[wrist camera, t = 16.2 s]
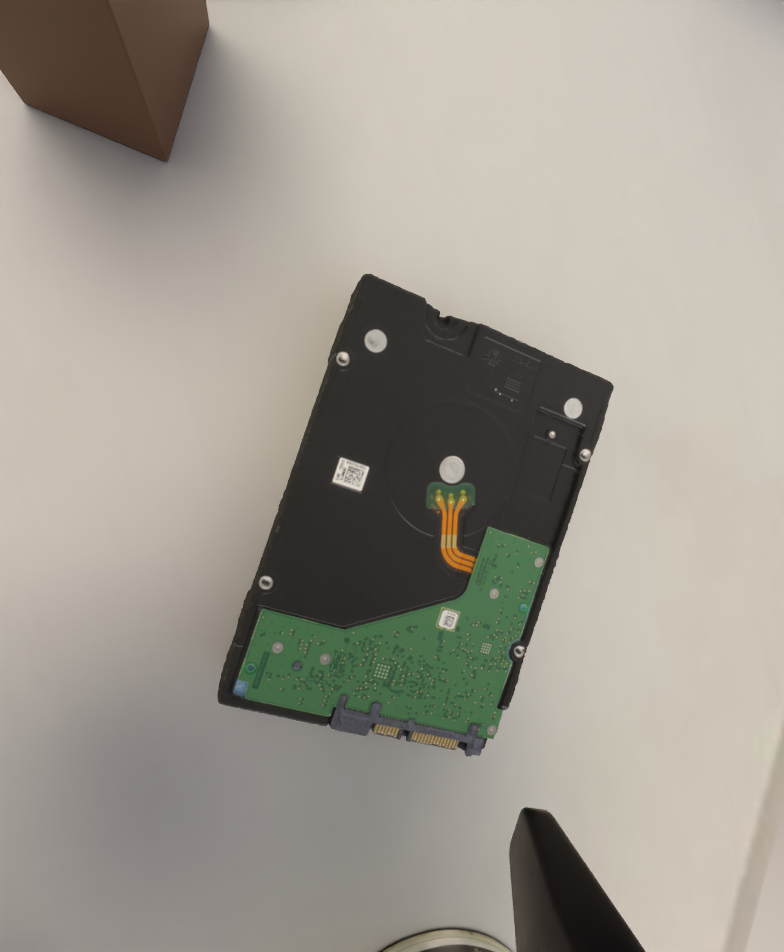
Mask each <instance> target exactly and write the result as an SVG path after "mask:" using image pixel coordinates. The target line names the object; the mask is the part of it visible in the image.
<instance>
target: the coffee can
mask: <svg viewBox="0 0 784 952" xmlns="http://www.w3.org/2000/svg"><path fill="white" fill-rule="evenodd" d="M383 952H511V951H510V950H509V949H508V948H506V947H505V946H504V945H503V944H501V943H500V942H498V941H496V940H495V939H493V938H491V937H489V936H486V935H484V934H481V933H477V932H473V931H465V930H455V929H444V930H437V931H431V932H427V933H423V934H419V935H416V936H413V937H410V938H408V939H405V940H403V941H400V942H398V943H396V944H394V945H393V946H390V947H388V948H387V949H385V950H384V951H383Z"/></svg>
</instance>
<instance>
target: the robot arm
mask: <svg viewBox="0 0 784 952" xmlns="http://www.w3.org/2000/svg"><path fill="white" fill-rule="evenodd" d="M509 859H510V872H511V885H512V897H513V910H514V922H515V935H516V947H517V952H645V950H644V949H643V947H642V946H641V944H640V943H639V941H638V940H637V938H636V937H635V935H634V934H633V933H632V931H631V930H630V928H629V927H628V925H627V924H626V922H625V921H624V919H623V918H622V916H621V915H620V914H619V912H618V911H617V909H616V908H615V906H614V905H613V903H612V902H611V900H610V899H609V897H608V896H607V894H606V893H605V892H604V890H603V889H602V887H601V886H600V884H599V883H598V881H597V880H596V878H595V877H594V875H593V874H592V872H591V871H590V870H589V868H588V867H587V865H586V864H585V862H584V861H583V859H582V858H581V856H580V855H579V853H578V852H577V850H576V849H575V848H574V846H573V845H572V843H571V842H570V840H569V839H568V837H567V836H566V834H565V833H564V831H563V830H562V828H561V827H560V826H559V824H558V823H557V821H556V820H555V818H554V817H553V816H552V814H551V813H549V812H548V811H546V810H542V809H535V808H528V807H526V808H523V809H522V810H521V812H520V815H519V818H518V821H517V824H516V827H515V830H514V833H513V836H512V839H511V843H510V851H509Z"/></svg>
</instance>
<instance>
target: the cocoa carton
mask: <svg viewBox="0 0 784 952" xmlns="http://www.w3.org/2000/svg"><path fill="white" fill-rule="evenodd" d="M208 26H209V19H208V12H207V6H206V0H0V70H1V71H2V73H3V74H4V75H5V77H6V78H7V80H8V81H9V82H10V84H11V85H12V87H13V88H14V89H15V91H16V92H17V93H18V95H19V96H20V98H21V99H22V100H23V102H24V103H26V104H28V105H30V106H33V107H35V108H38V109H40V110H42V111H45V112H47V113H50V114H52V115H54V116H57V117H59V118H62V119H64V120H66V121H69V122H71V123H74V124H76V125H78V126H81V127H83V128H86V129H88V130H90V131H93V132H95V133H98V134H100V135H102V136H105V137H107V138H110V139H112V140H115V141H117V142H119V143H122V144H124V145H127V146H129V147H131V148H134V149H136V150H139V151H141V152H143V153H146V154H148V155H151V156H153V157H155V158H158V159H160V160H163V161H165V162H167V160H168V157H169V154H170V150H171V147H172V144H173V141H174V137H175V134H176V131H177V127H178V124H179V121H180V118H181V114H182V111H183V108H184V104H185V101H186V98H187V95H188V91H189V88H190V85H191V82H192V78H193V75H194V72H195V68H196V65H197V62H198V59H199V55H200V52H201V49H202V45H203V42H204V39H205V36H206V32H207V29H208Z"/></svg>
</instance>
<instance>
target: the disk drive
mask: <svg viewBox="0 0 784 952" xmlns="http://www.w3.org/2000/svg"><path fill="white" fill-rule="evenodd" d="M439 316H440V311H438V310H437V309H434V308H433V307H432V306H431V305H429V304H427V303H426V300H425V298H423V297H421V296H418V295H416V294H414V293H412V292H409V291H407V290H405V289H402V288H400V287H398V286H396V285H393V284H391V283H389V282H387V281H385V280H382V279H380V278H378V277H376V276H374V275H372V274H365V275H363V276H362V278H361V280H360V281H359V282H358V284H357V286H356V288H355V290H354V292H353V294H352V295H351V299H350V303H349V305H348V309H347V311H346V314H345V317H344V319H343V321H342V323H341V324H340V326H339V329H338V332H337V335H336V338H335V341H334V344H333V346H332V349H331V352H330V356H329V359H328V367H327V370H326V373H325V375H324V378H323V382H322V384H321V387H320V390H319V394H318V396H317V398H316V402H315V405H314V407H313V409H312V413H311V416H310V419H309V422H308V425H307V428H306V431H305V433H304V436H303V439H302V442H301V445H300V449H299V452H298V455H297V457H296V460H295V464H294V466H293V468H292V471H291V475H290V478H289V480H288V484H287V487H286V490H285V491H284V494H283V498H282V500H281V502H280V505H279V510H278V513H277V515H276V518H275V521H274V524H273V526H272V529H271V532H270V535H269V538H268V541H267V544H266V547H265V550H264V553H263V556H262V558H261V561H260V564H259V567H258V570H257V573H256V576H255V579H254V581H253V584H252V587H251V589H250V590H249V591H248V593H247V596H246V599H245V600H244V604H243V608H242V610H241V614H240V617H239V619H238V625H237V629H236V633H235V636H234V638H233V641H232V644H231V646H230V649H229V651H228V654H227V658H226V661H225V663H224V666H223V671H222V673H221V679H220V683H219V690H218V702H219V703H220V704H223V705H226V706H231V707H236V708H241V709H244V710H245V709H246V710H250V711H256V712H259V713H266V714H269V715H275V716H279V717H285V718H288V719H294V720H297V721H303V722H308V723H312V724H319V725H321V726H326V725H327V724H328V723H329V725H330V727H331V728H332V729H335V730H339V731H342V732H349V733H354V734H359V735H363V736H364V735H367V734H368V731H369V729H373V730H372V731H373V732H374V734H378V735H382V736H389V737H393V738H397V739H399V740H400V738H401V735H402V736H406V741H413V742H418V743H423V744H428V745H434V746H438V747H443V748H447V749H452V750H456V748H457V747H459V748H461V749H463V750H465V755H466V756H471V755H477V756H479V755H480V754H481V750H482V749H483V748H484V747H485V744H486V741H487V738H492V739H493V738H494V736H495V734H496V732H497V729H498V725H499V722H500V719H501V715H502V711H503V710H505V709H507V708H508V707H509V704H510V702H511V699H512V696H513V694H514V691H515V686H516V684H517V682H518V676H519V673H520V669H521V665H522V663H523V658H524V657H525V656H524V654H525V653H526V649H527V646H528V645H529V642H530V639H531V636H532V634H533V630H534V626H535V624H536V622H537V620H538V616H539V612H540V610H541V606H542V603H543V600H544V599H545V594H546V591H547V588H548V585H549V582H550V579H551V577H552V574H553V569H554V567H555V566H556V561H557V559H558V557H559V551H560V547H561V545H562V542H563V540H564V537H565V534H566V531H567V529H568V524H569V522H570V519H571V516H572V513H573V510H574V507H575V504H576V501H577V498H578V494H579V491H580V488H581V487H582V483H583V480H584V477H585V475H586V471H587V468H588V464H589V462H590V458H591V456H592V454H593V451H594V448H595V446H596V444H597V441H598V439H599V435H600V432H601V430H602V425H603V423H604V419H605V414H606V411H607V407H608V402H609V399H610V396H611V393H612V391H613V385H612V383H611V382H609V381H607V380H605V379H603V378H601V377H599V376H596V375H594V374H592V373H590V372H587V371H585V370H582V369H579V368H578V367H576V366H574V365H572V364H569V363H564V362H563V361H562V360H559V359H557V358H554V357H553V356H551V355H548V354H546V353H545V352H542V351H540V350H538V349H536V348H533V347H530V346H528V345H527V344H525V343H522V342H520V341H518V340H516V339H514V338H512V337H509V336H507V335H504V334H502V333H501V332H499V331H496V330H494V329H492V328H490V327H488V326H486V325H483V324H477V323H474V322H468V321H465V320H461V319H458V318H454V317H452V316H447V317H444V318H443V317H439Z"/></svg>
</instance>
